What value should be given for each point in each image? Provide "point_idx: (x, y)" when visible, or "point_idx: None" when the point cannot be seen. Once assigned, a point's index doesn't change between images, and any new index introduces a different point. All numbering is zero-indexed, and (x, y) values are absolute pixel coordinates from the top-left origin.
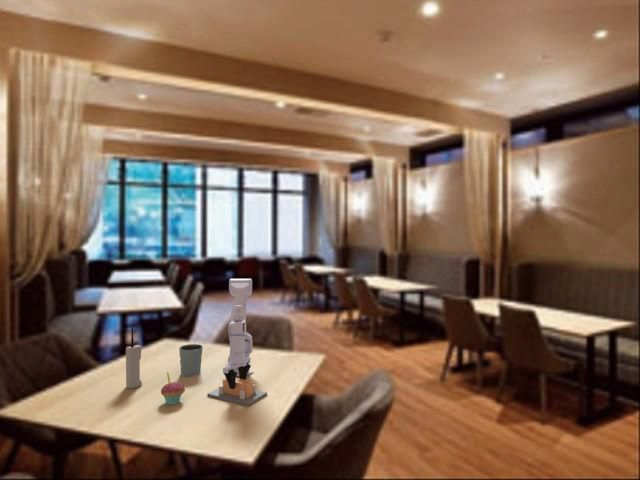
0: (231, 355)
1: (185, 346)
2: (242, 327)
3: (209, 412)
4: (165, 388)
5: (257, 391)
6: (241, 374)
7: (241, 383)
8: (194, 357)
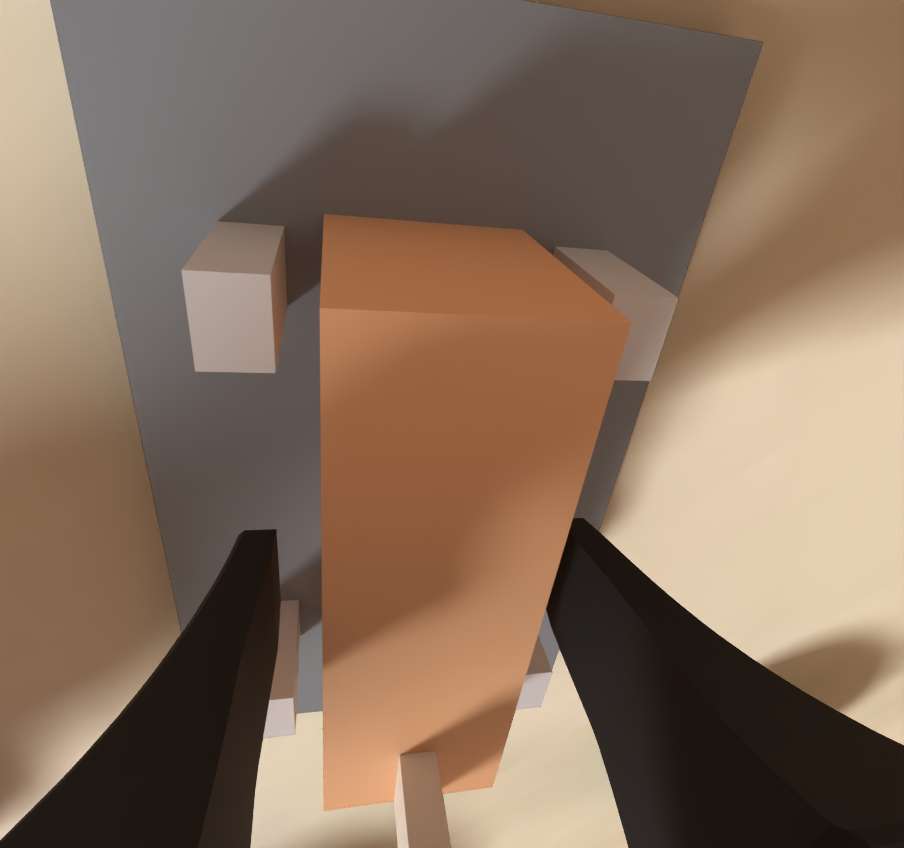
0: None
1: None
2: None
3: (899, 428)
4: None
5: (158, 206)
6: (249, 747)
7: (570, 488)
8: None
